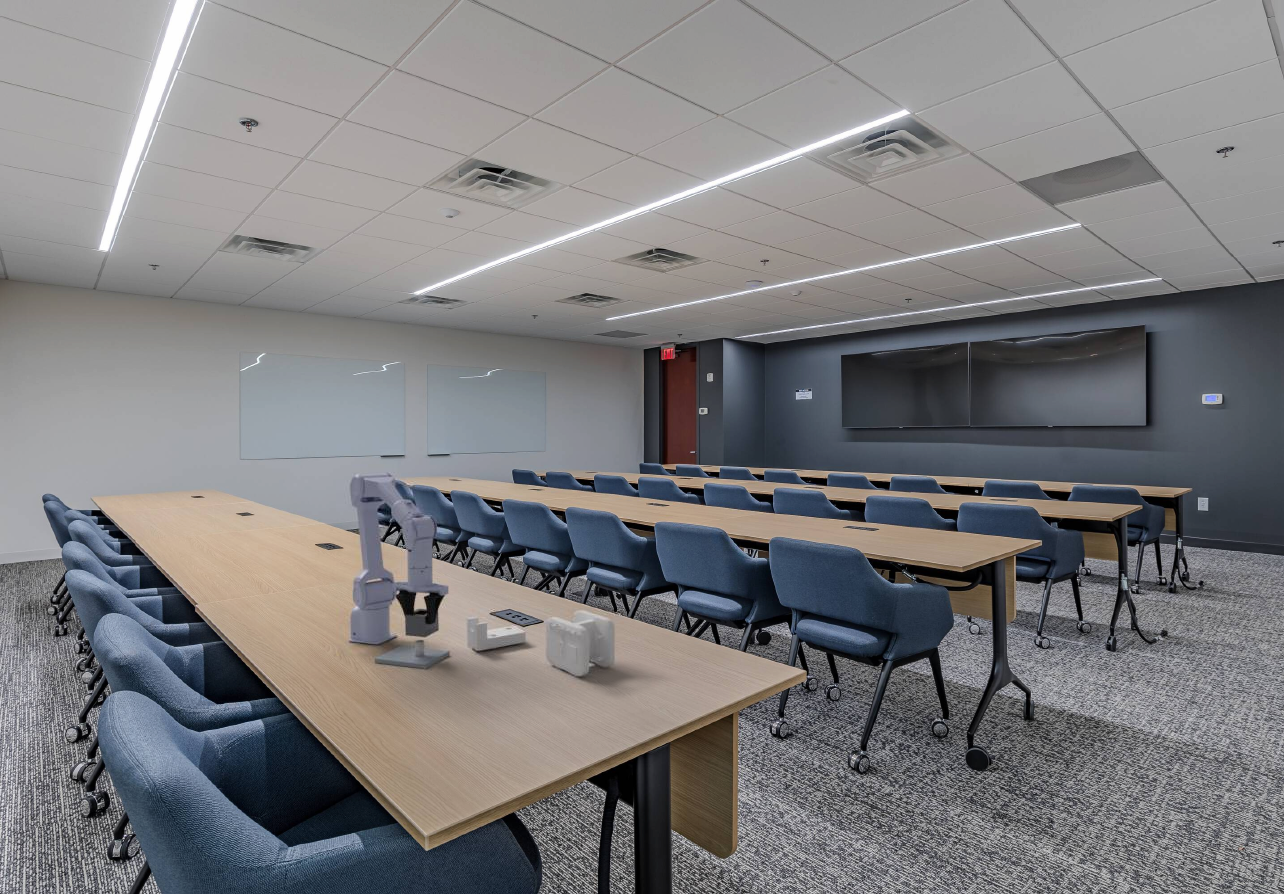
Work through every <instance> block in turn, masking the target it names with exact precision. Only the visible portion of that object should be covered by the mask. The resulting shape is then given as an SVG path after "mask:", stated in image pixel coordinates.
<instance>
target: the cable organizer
mask: <svg viewBox="0 0 1284 894" xmlns="http://www.w3.org/2000/svg"><path fill="white" fill-rule="evenodd" d="M615 643H616V642H615V624H614V621H613V620H612V619H611V618H609V617H605V616H602V615H599V614H596V613H593V612H590V611H587V610H584V609H581V610H576V611H575V612H574V613H573V622H571V621H569V620H566V619H563V618H560V617H558V616H553V617H548V618H547V619H546V621H545V657H546V660H547V661H548V663H549V664H550V665H552V666H553V667H554V666H555V668H557V669H559V670H562V671H563V670H564V671H566V672H568V674H571V675H572V676H575V677H582V676H586V675H587V674H589V672H590V662H592V663H595V665H597V666H599V667H601V668H604V669H605V668H607V667H610V666H613V665H614V663H615V653H616V652H615V651H616V650H615V649H616V648H615Z"/></svg>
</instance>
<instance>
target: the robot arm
mask: <svg viewBox="0 0 1284 894" xmlns="http://www.w3.org/2000/svg"><path fill="white" fill-rule="evenodd" d="M349 491H350V500H351V506H352V507H354V508H356V512H357V513H356V514H357V522H358V530H359V543H360V550H361V551H360V552H361V559H362V571H361V572H359V573H358V574H357V575H356V577H355V578H354V579H353V589H352V599H353V602H354V603H353V604H355V607H353V609H352V611H351V613H350V638H349V639H347V640H348V642H352V643H360V644H361V643H362V644H370V645H380V644H383V643H385V642H387V641H389V640H391V639H393V638H397V636H398V634H397V633H391V627H390V626H391V623H390V617H391V616H390V613H391V612H390V611H391V610H390V608H391V607H390V606H393V602H394V601H395V599H396V600H397V602H398V604H399V605H400V607H401V609H402V612H403V615H404V617H405V615H406V614H408V613H410V612H413V611H415V605H416V604H415V603H416V598H417V594H418V593H421V594H428V595H425V596H423V600H424V603H425V609H427V623H428V624H429V625H430V624H433V623H435V620H436V615H437V612H438V613H439V608H440V605H441V603H442V602H443V600H444V597H445V596H446V595H448V594H449V585H444V584H439V583H434V582H433V539H435V538H436V536H437V534H438V525H437V522H436V519H435V518H434V516H433V515H427V514H423V513H422V512H421V511H420V509H419V508H418V507H417V506H416V504H414V503H413V501H412V500H411V499H404V498H403V496H402V495H401V494H400V492H399V491H398V489H397V488H396V478H395V477H394V476H393V474H391V473H390V472H385V473H370V474H369V473H368V474H366V473H365V474H364V473H363V474H359V473H357V474H354V475H353V477H352V478H351V481H350V484H349ZM383 504H386V505H387V506H388V507H389V508H390V509H391V513H390V514H391V517H392V518H393V519H394V521H396V523H397V524H398V525H399V526H400V528H402V530H401V533H402V537H403V540H404V546H405V549H406V550H407V581H397V582H396V581H395V579H394V578H395V577H394V574H393V573H392V572H391V571H389V570H388V569H386V568H385V567H384V560H383V551H382V549H383V548H382V542H381V531H380V522H379V514H378V512H379V511H378V510H379V507H380V506H382V505H383ZM379 579H380V580H379ZM373 580H374V581H373Z"/></svg>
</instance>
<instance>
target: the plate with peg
mask: <svg viewBox="0 0 1284 894" xmlns="http://www.w3.org/2000/svg"><path fill="white" fill-rule="evenodd" d="M414 645H415V646H406V645H399V646H398V647H396V648H394V649H391V650H390V651H388V652H386V653H383V654H382V655H378V656H377V657H375V658H374V664H375V663H376V664H383V665H393V666H400V667H409V668H415V669H424V670H425V669H427V668H429V667H430V666H433V665H434V664H436V663H438V662H440V661H442V660H443V659H445V658H448V657H449V656H450V650H441V649H434V648H433V649H432V648H427V647H426V648H425V640H424V639H418V640H415V641H414Z"/></svg>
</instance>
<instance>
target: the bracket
mask: <svg viewBox="0 0 1284 894" xmlns="http://www.w3.org/2000/svg"><path fill="white" fill-rule="evenodd" d="M466 620H467V621H466V625H467V626H466V629H467V632H466V633H467V634H466V635H467V636H466V638H467V642H466V643H467V648H469V649H470V650H471V651H473V650H475V651H477V652H479V651H485V650H490V649H496V648H501V647H506V646H511V645H516V644H523V643H526V641H527V640H526V639H527V638H526V631H525V630H523V629H521V628H519V627H518V626H516V625H510V626H505V627H499V628H493V629H492V628H491V629H488V622H486V621H484V622H479V617H478V616H472V617H467V618H466Z"/></svg>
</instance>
